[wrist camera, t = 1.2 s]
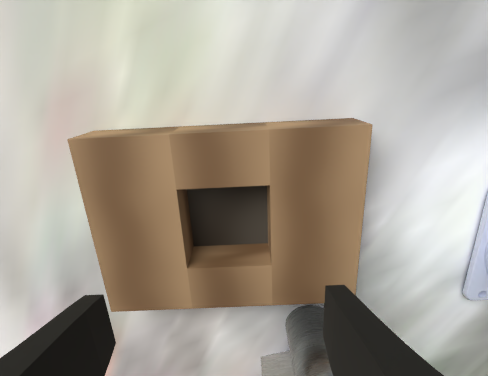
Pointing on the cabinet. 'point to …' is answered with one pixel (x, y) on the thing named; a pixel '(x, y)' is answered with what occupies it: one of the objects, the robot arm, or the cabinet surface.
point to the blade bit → (277, 364)
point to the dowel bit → (307, 342)
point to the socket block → (225, 211)
